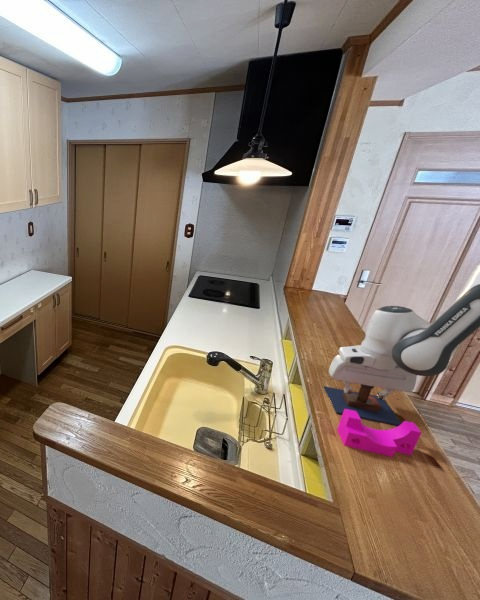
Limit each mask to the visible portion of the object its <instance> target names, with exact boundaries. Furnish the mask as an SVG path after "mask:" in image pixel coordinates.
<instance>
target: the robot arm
mask: <svg viewBox="0 0 480 600" xmlns="http://www.w3.org/2000/svg"><path fill="white" fill-rule="evenodd" d="M479 329H480V262H479V263H478V264H477V265H476V267H475V268H474V269H473V270H472V272H471V273H470V275H469V276H468V278H467V280H466V282H465V284H464V285H463V287H462V290H461V291H460V293H459V294H458V296H457V298H456V299H455V301H454V302H453V303H452V304H451V305H450V306H449V307H448V308H447V309H446V310H445V311H444V312H443V313H442V314H441V315H440V316H439V317H438V318H436V319H435V320H434V321H433V322H432V323H431V322H429V321H428V320H426V319H424V318H423V317H421V316H420V315H418V314H417V313H416V312H415V311H414V310H413V309H412V308H408V307H405V306H399V305H386V306H381V307H379V308H376V309H375V311H374V312H373V313H372V314H371V317H370V319H369V321H368V323H367V325H366V329H365V337H364V339H363V340H362V341H361V343H360V344H358V345H349V346H341V347H339V348H338V354H337V355H335V356H334V358H333V359H332V360H331V364H330V365H329V368H328V375H329V376H330V377H331V379H333V380H334V381H339V382H340V381H341V382H342V383H343V386H344V388H343V390H344V392H345V393H347V394H352V393H351V392H352V391H353V392H354V390H353V388H352V387H351V386H350V385H351V384H357V385H358V384H359V385H360V384H363V385H369V386H374V387H375V388H382V389H383V390H381V391H377V392H376V395H375V396H376V397H377V399H380V400H385V399H386V397H388V396H389V395H391V394H392V393H394V391H398V392H404V393H410V392H412V391H414V390H415V388H416V383H417V376H420V377H432V376H433V377H434V376H437V375H439V374H442V373H443V372H445V371H446V369H447V368H448V366H449V363H450V361H451V359H452V357H454V355H455V354H456V351H457V350H458V349H459V348H458V347H459V346H460V345H461V344H462V343H463V342H464V341H465V340H466V339H468V338H469V337H470V336H471V335H472V334H473V333H475V332H476V331H477V330H479ZM385 401H386V400H385Z"/></svg>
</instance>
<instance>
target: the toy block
mask: <svg viewBox="0 0 480 600" xmlns="http://www.w3.org/2000/svg"><path fill="white" fill-rule="evenodd" d="M401 423H402V424H401V425H399V426H395V427H393V428H390V429H375V428H372V427H369V426H367V425H365V424H364V423H362V419H361V418H360V417H359V415H358V413H357V412H356V411H353V410H348V409H344V411H343V414H341V417H340V420H339V424H338V426H337V429H336V431H337V433H338V435H339V438H340V439H341V442H342V444H343V445H344V446H345V447H349V448H352V449H357V450H360V451H361V450H362V451H366V452H369V453H375V454H379V455H382V456H386V457H387V456H388V457H391V458H393V457H394V455H395V453H400V454H404V455H407V456H412V454H413V453H414V450H415V448H416V445H417V443H418V441H419V439H420V437H421V434H422V432H421V430H420V429H419V427H418V426H417V425H416V423H415V422H411V421H406V420H403V422H401Z"/></svg>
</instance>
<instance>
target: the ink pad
mask: <svg viewBox="0 0 480 600" xmlns="http://www.w3.org/2000/svg"><path fill="white" fill-rule="evenodd" d="M323 387H324V388H323V390H324V389H325V390H324V392H325V391H326V392H325V394H326V393H327V394H326V395H328V396H327V397H329V398H330V400H331V402H332V403H331V402H330V403H331V405H332V404H333V405H332V407H333V410H334V412H335V413H336V414H337V415H342V414H343V411H344V409H348V410H353V411H356V412H357V413H358V415H359V417H360V419H361V420H367V421H372V422H377V423H382V424H387V425H391V426H395V427H398V426H399V425H401V424H402V423H403V422H401V420H400V419H399V417H398V416H397V415H396V414H395V412H394V410H393V409H392V408H391V407H390V406H389V404H388V403H387V401H386V400H380V399H377V397H376V395H374V394H370V395H369V396H372V397H375V399H376V400H377V401H378V403H379V404H380V406H381V409H380V411H379V412H377V411H371V410H366V409H361V408H356V407H351V406H347V404H346V402H345V400H344V399H343V397H342V396H343V393H344V389H341V388H336V387H330V386H325V385H324V386H323ZM358 392H359V391H358ZM358 392H357V391H354V390H353V391H352V392H351V393H354V394H358ZM329 398H328V399H329ZM330 400H329V401H330Z"/></svg>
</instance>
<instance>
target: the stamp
mask: <svg viewBox="0 0 480 600" xmlns="http://www.w3.org/2000/svg"><path fill="white" fill-rule="evenodd" d="M359 385H360V387H359V389H358V394H354V393H352V394H347V393H345V392H344V393H343V396H342V397H343V399H344V400H345V402H346V404H347V406H351V407H356V408H361V409H366V410H371V411H377V412H379V411H380V409H381V406H380V404H379V403H378V401H377V400H376V399H375V397H372V396H369V395H371V392H372V390H373V389H374V386H369V385H363V384H359Z"/></svg>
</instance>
